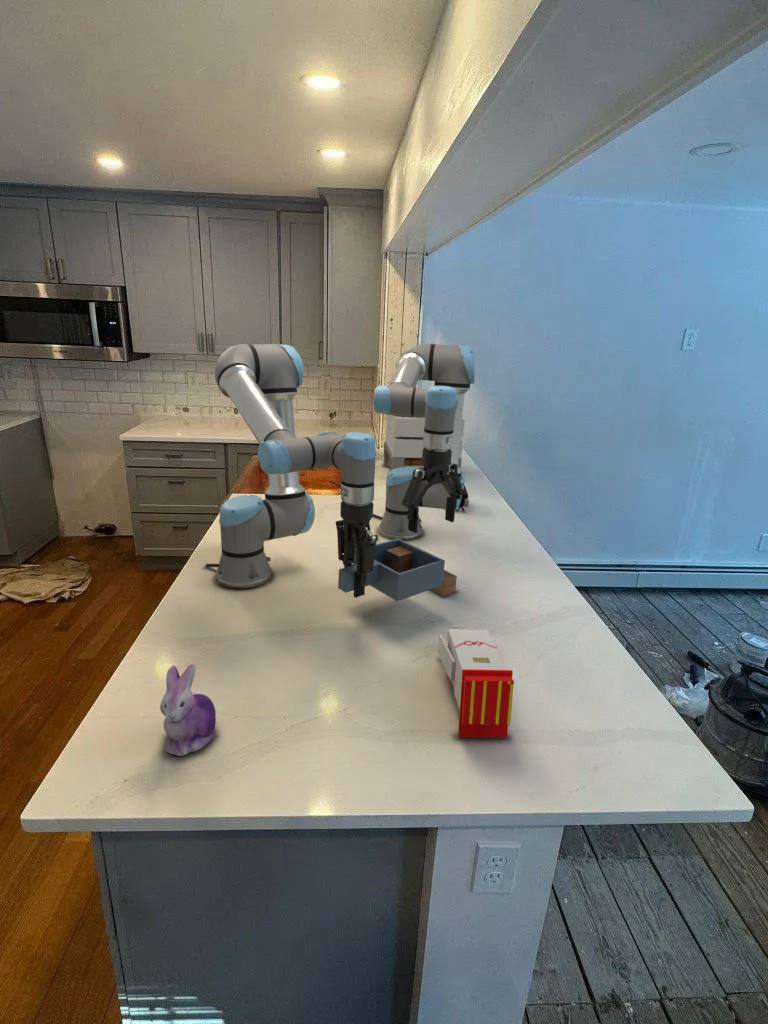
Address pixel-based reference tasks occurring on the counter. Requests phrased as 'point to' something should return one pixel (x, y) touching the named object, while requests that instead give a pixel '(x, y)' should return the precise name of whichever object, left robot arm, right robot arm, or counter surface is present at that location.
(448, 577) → the walnut block
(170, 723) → the figurine
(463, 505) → the figurine character
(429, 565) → the tray
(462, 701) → the toy
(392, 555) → the walnut block
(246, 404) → the left robot arm
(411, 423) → the white crate
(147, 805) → the counter surface
